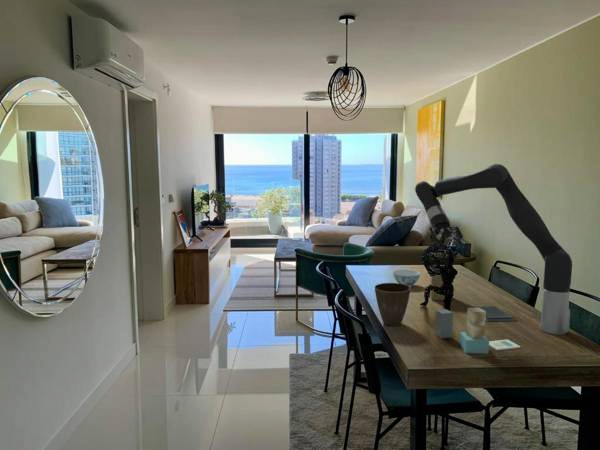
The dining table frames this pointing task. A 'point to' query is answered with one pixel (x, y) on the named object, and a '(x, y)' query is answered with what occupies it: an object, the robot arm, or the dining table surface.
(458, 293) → the dining table surface
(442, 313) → the charcoal block
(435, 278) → the wooden block
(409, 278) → the chinaware
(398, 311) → the plant pot
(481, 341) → the teal base block
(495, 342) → the card
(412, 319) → the dining table surface
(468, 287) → the dining table surface
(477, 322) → the maple block
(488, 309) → the dark blue-grey book
